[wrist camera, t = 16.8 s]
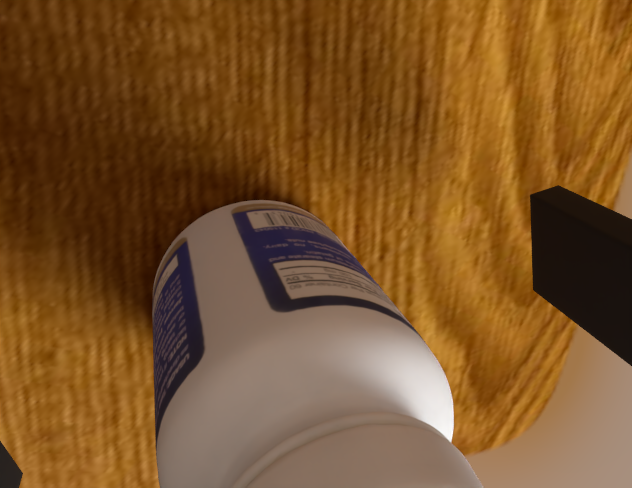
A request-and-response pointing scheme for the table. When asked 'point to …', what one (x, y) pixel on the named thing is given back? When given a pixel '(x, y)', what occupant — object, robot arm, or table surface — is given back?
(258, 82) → the table surface
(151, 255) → the table surface
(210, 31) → the table surface
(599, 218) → the robot arm
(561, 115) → the table surface
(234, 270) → the pill bottle
